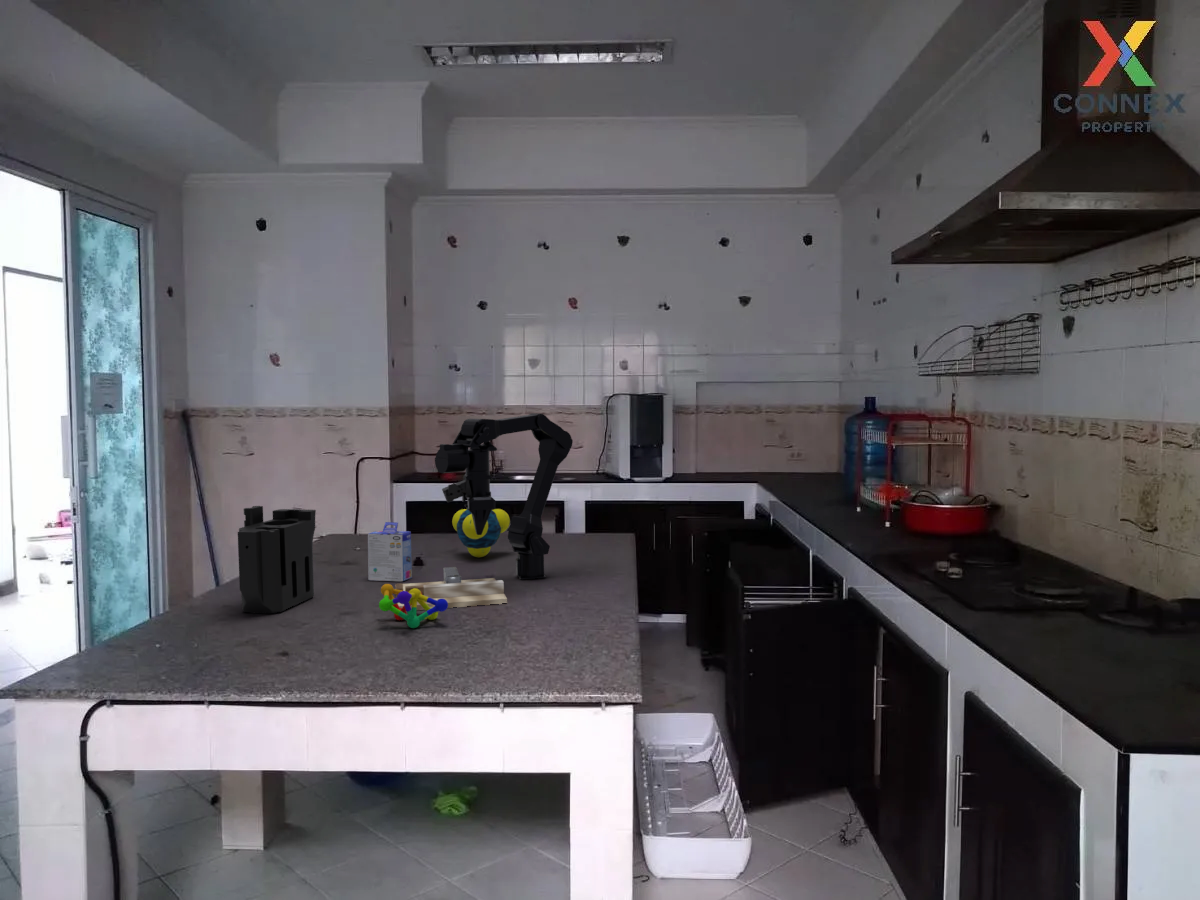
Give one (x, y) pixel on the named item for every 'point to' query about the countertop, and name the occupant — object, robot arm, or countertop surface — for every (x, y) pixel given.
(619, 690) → the countertop surface
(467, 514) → the toy
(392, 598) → the decorative model
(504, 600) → the board
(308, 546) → the black machined bracket
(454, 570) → the latch bar
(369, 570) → the ink cartridge box
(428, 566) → the countertop surface
